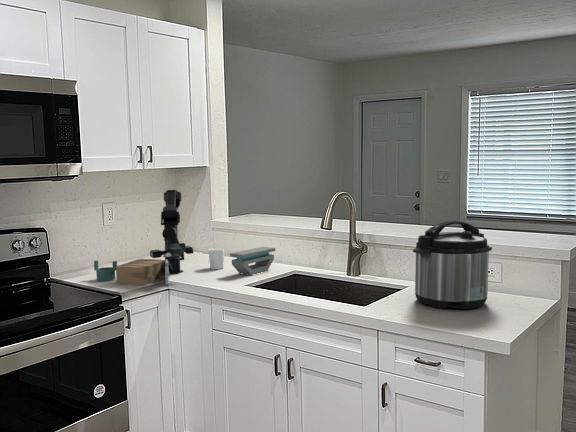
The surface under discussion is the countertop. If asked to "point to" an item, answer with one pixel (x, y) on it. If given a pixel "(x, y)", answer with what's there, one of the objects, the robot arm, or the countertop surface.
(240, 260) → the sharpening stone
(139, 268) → the walnut cabinet
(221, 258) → the white cup
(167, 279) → the cabinet door
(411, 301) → the countertop surface
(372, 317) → the countertop surface
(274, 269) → the countertop surface
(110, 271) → the bracket
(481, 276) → the pressure cooker
